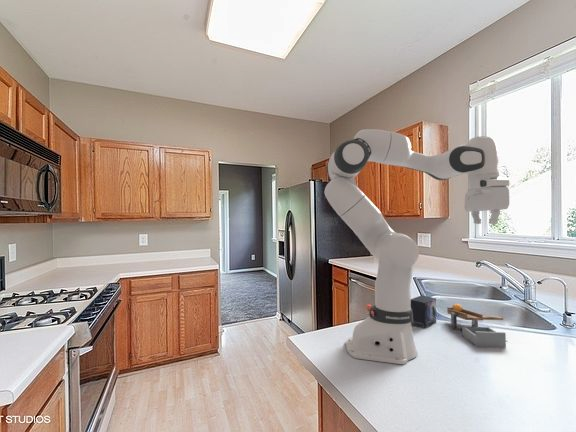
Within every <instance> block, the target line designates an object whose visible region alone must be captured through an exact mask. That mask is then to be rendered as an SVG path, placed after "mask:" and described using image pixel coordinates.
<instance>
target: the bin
mask: <svg viewBox="0 0 576 432" xmlns="http://www.w3.org/2000/svg"><path fill="white" fill-rule="evenodd" d="M461 331H462V337H463V338H465V339H466V340H467V341H469V343H471V344H472V345H473V346H475V347H476V348H495V349H497V348H498V349H506V348H507V338H506V337H507V336H506V332H504V331H496V330H494V329H493V328H491V327H489V326H478V327H466V326H462V330H461Z"/></svg>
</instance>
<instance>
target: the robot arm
mask: <svg viewBox="0 0 576 432" xmlns="http://www.w3.org/2000/svg"><path fill="white" fill-rule="evenodd" d="M367 162H374V163H377V164H381V165H389V166H396V167H402V168H405V169H410V170H413V171H417V172H421V173H425V174H427V175H428V176H430V177H431V178H432V179H435V180H437V181H442V182H443V181H447V180H449V179H451V178H454V177H459V176H462V175H465V174H467V181H468V183H467V184H468V189H467V191H466V192H465V195H464V210H465V213H467V212H468V213H469V212H471V217H472V219H473V224H474V225H475V224H476V225H481V224H482V219H481V218H480V212H484V211H490V218H489V219H488V221H489V225H497V224H498V221H499V220H498V219H499V216H500V214H501V210H507V209H508V208H509V206H510V189H509V187H508V186H510V179H509V178H504V177H501V176H500V172H499V170H498V166H499V165H498V163H499V151H498V145H497V142H496V140H495V139H494V138H492V137H491V136H484V135H482V136H481V135H480V136H475V137H472V138H470V139H469V140H468V141H467V142H465V143H463V144H461V145H458V146H455V147H453V148H450V149H448V150H447V151H445V152H442V153H440V154H436V155H427V154H423V153H420V152H416V151H413V150H412V143H411V141H410V139H409V137H408V136H406V135H404V134H403V133H399V132H396V131H389V130H384V129H376V128H374V129H369V128H368V129H366V128H365V129H361V130H359V131H358V132H357V133H356V134H355V135H354V137H353V139H350V140H346V141H344V142H342V143H341V144H339V145H338V146H337V147H336V149H335V151H333V152H332V153H331V155H330V157H329V160H328V161H327V164H326V172H327V176H328V177H327V178H328V183H327V184H326V186H325V187H324V195H325V199H327V202H328V203H329V205H330V207H332V209H333V210H334V211H335V213H336V214H337V215H338V216H339V217H340V219H341V220H342V221H343V222H344V223H345V224H346V225H347V226H348V227H349V228H350V229H351V230H352V231H353V233H354V234H355V236H357V238H358V239H359V241H360V242H361V243H362V244H363V245H364V247H365V248H366V249H367V251H369V253H370V254H371V255H372V256H373V258H375V259H376V261H378V268H377V273H376V274H377V275H376V279H375V281H374V299H375V300H374V302H375V303H374V305H371V304H370V303H369V304H368V303H367V305H366V306H365V309H366V311H367V312H368V317H366V318H365V319H364V320H362V321H361V322H359V323H358V324H356V325H355V326H354V329H353V331H352V337H349V338H347V339H346V340H345V349H346V351H347V353H348V354H349V355H350V357H352V358H354V359H359V360H365V361H375V362H381V363H388V364H389V363H391V364H395V365H396V364H397V365H406V364H407V363H408V361H410V360H412V359H413V360H414V359H415V358H416V357H417V356H418V351H417V348H416V345H415V341H414V334H413V326H414V325H413V313H412V309H411V299H412V297H411V294H412V293H411V288H412V287H411V285H412V277H413V272H414V268H415V264H416V263H417V261H418V259H419V255H420V250H419V246H418V244H417V243H416V242H415V240H413V238H411V237H410V236H408V235H407V234H404V233H401V232H396V231H394V230H393V229H392V228H391V227H390V225H389V224H388V222H387V221H386V219H385V218H384V215H383V214H382V211H380V209H379V208H378V207H377V206H376V205H375V204H374V203H373V201H372V200H370V199H369V197H367V195H366V194H365V193H364V192H363V191H362V190H361V189H360V188H359V186H358V185H357V183H356V181H355V180H356V179H355V177H356V176H357V175H358V174H360V172H361V171H362V170H363V169H364V168H365V167H366V165H367Z"/></svg>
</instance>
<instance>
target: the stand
mask: <svg viewBox="0 0 576 432" xmlns="http://www.w3.org/2000/svg"><path fill="white" fill-rule="evenodd" d="M457 318H458V317H457V314H455V313H454V312H451V314H450V324H448V327H449V328H450V329H452V330H453V331H462V326H466V327H479V325H478V324H479V323H478V321H479V320H471V324H457V321H458V320H457Z"/></svg>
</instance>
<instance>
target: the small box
mask: <svg viewBox="0 0 576 432" xmlns="http://www.w3.org/2000/svg"><path fill="white" fill-rule="evenodd" d="M411 309H412V313H413V326H416V327H419V328H423V329H426V328H428V327H430V326H433V325H435V324H437V298H436V297H431V296H427V295H423V294H422V295H419V296H416V297H413V298H411Z"/></svg>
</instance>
